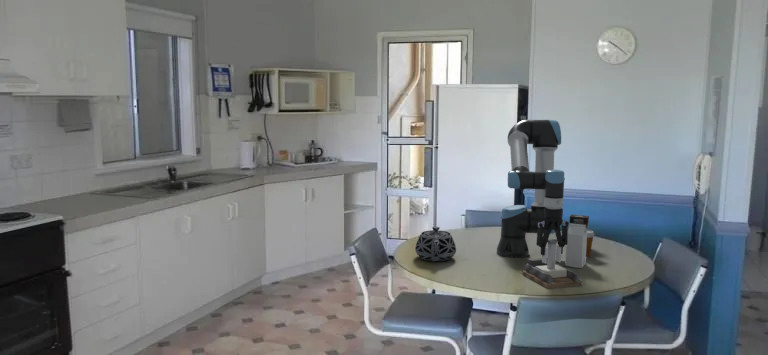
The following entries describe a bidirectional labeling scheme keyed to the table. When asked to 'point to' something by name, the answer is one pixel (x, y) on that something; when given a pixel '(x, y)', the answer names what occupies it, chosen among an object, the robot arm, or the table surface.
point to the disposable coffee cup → (589, 242)
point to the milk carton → (576, 245)
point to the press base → (546, 279)
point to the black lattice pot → (435, 245)
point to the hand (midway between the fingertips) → (551, 261)
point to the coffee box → (579, 220)
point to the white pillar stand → (552, 262)
